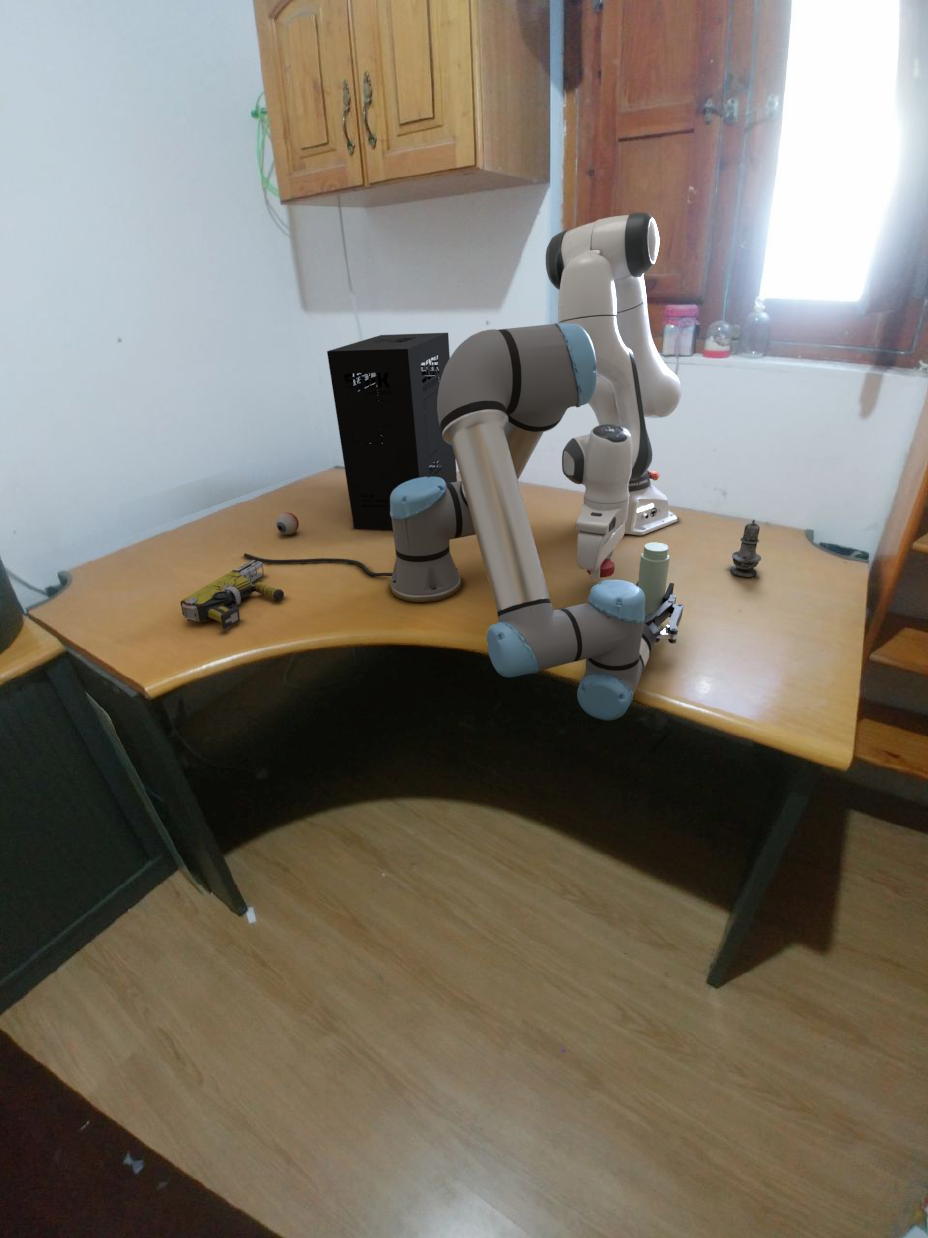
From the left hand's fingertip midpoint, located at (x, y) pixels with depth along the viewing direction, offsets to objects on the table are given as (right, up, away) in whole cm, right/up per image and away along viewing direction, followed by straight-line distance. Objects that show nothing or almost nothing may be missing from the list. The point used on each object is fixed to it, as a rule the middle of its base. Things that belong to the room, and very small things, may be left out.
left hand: (655, 587), depth 115 cm
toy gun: (-84, -3, +17) cm, 85 cm away
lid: (-8, +5, +12) cm, 16 cm away
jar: (-2, -8, -1) cm, 8 cm away
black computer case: (-53, +28, +65) cm, 88 cm away
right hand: (-8, +4, +13) cm, 16 cm away
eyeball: (-84, +17, +50) cm, 100 cm away
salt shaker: (+25, +4, +17) cm, 30 cm away
